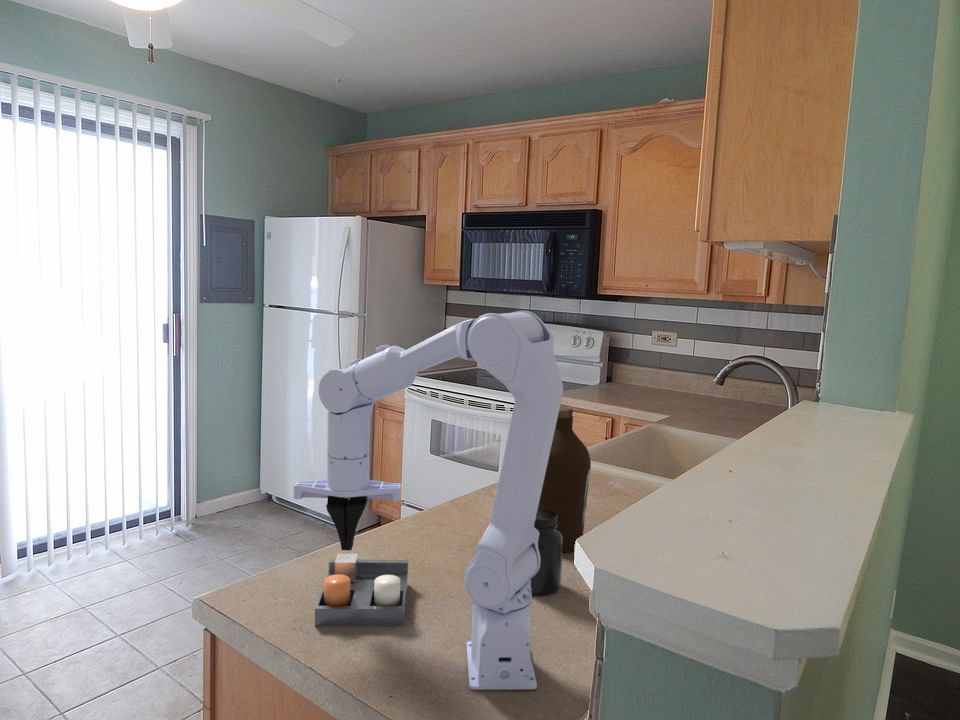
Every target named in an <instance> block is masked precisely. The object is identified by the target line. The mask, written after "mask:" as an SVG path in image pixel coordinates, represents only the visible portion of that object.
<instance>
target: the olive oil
mask: <svg viewBox="0 0 960 720" xmlns="http://www.w3.org/2000/svg"><path fill="white" fill-rule="evenodd" d="M573 413H574V409H573V408H570V407H565V406H564V407H563V406H562V407H561V406H560V409H559V413H558V418H557V422H556V427H555V431H554V436H553V441H552V445H551V450H550V454H549V459H548V464H547V468H546V473H545V477H544V482H543V486H542V491H541V496H540V500H539V505H538V509H547V510H551V511H553V512H555V513H556V514H557V528H556V529H558V530H559V531H560V533H561V535H562V537H563V546H562V553H571V552H575V551H574V544H575V541H576V539H577V538H579V537H580V536H582V535H583V536H584V530H585V528H584V527H585V522H586V521H585V520H586V519H585V518H586V511H587V501H588V494H589V483H590V475H591V468H592V467H591V466H592V465H591V464H592V461H591V455H590V453H589V450H588V448H587V447H586V445H585V443H584V442H582V440H581V438H579V436H578V435H577V434H576V432H574V430H573V424H574V423H573V422H574V417H573Z"/></svg>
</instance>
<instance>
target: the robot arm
mask: <svg viewBox="0 0 960 720" xmlns="http://www.w3.org/2000/svg"><path fill="white" fill-rule="evenodd" d="M553 346H554V334H553V333H552V332H551V331H550V329H549V328H548V327H547V326H546V324H545V323H544V322H543V320H542V319H541V318H540V317H539V316H538V315H537V314H535V313H534V312H531V311H528V310H517V311H513V312H507V313H505V312H504V313H493V312H488V313H485V314H482V315H479V317H477V318H471V319H467V320H464V321H460V322H459V323H456V324H454V325H451V326H450V327H448V328H446V329H444V330H443V331H441V332H438V333H437V334H434V335H433V336H431V337H429V338H426V339H424V340H423V341H421V342H419V343H418V344H415V345H413V346H412V347H409V348H408V349H405V348H403V347H400V346H398V345H391V346H390V345H389V344H383V345H379V346H378V347H376V348H375V351H376V353H374V354H372V355H370V356H368V357H365V358H364V359H361V358H356V359H353V360H352V361H350V362H349V364H350V365H349V366H348V367H347V368H341V369H340V368H333V369H332V368H331V369H329V371H328V372H327V373H325V374H324V375H323V376H322V378H321V379H320V381H319V384H318V396H319V400H320V402H321V404H322V405H323V407H324V408H325V409H326V410H327V452H326V453H327V459H326V460H327V465H326V466H327V467H326V468H327V471H326V472H327V473H326V474H327V475H326V477H327V478H326V479H317V480H305V481H304V480H302V481H301V480H298V481H296V482H295V484H294V485H293V500H302V499H303V498H307V499H308V498H309V499H310V498H313V499H314V498H315V499H327V503H326V511H327V513H328V514H329V516H330V518H331V520H332V522H333V524H334V526H335V529H336V533H337V535H338V539H339V542H340V549H341V551H352V550H353V547H354V540H355V534H356V531H357V527H358V524H359V522H360V519H361V517H362V515H363V513H364V511H365V509H366V506H367V503H368V501H369V500H391V501H392V502H400V501H401V496H402V484H401V483H395V482H394V483H393V482H386V481H378V480H373V479H370V446H371V445H370V442H371V441H370V439H371V437H370V436H371V435H370V434H371V417H372V416H373V408H374V405H375V403H376V402H377V401H378V400H381V399H383V398H385V397H388V396H390V395H392V394H395V393H397V392H400V391H402V390H405V389H407V388H409V387H411V386H412V385H413V383H415V380H416V376H417V373H419V372H421V371H424V370H427V369H429V368H432V367H434V366H437V365H440V364H442V363H445V362H448V361H450V360H453V359H455V358H459V357H460V358H462V359H464V360H466V361H467V360H473V361H474V362H476V363H477V364H478V365H479V366H480V368H483V369H484V370H485V371H487V372H488V374H490V375H491V376H493V377H494V378H496V379H497V380H498V381H499V382H501V383H502V385H503V384H504V386H505V388H506V389H507V390H508V392H509V393H510V394H511V396H512V397H513V398H514V404H513V408H512V413H511V419H510V424H509V429H508V433H507V439H506V444H505V448H504V453H503V457H502V461H501V468H500V473H499V477H498V483H497V487H496V493H495V497H494V502H493V507H492V513H491V516H490V521H489V524H488V526H487V528H486V530H485V531H484V532H483V535H482V537H481V538H480V540H479V542H478V543H477V545H476V546H477V547H476V552H475V555H474V557H473V558H472V559H471V560H470V561H469V563H468V564H467V565H466V567H465V570H464V574H463V579H464V580H463V581H464V582H463V583H464V586H465V589H466V592H467V593H468V595H469V597H470V598H471V599H472V620H471V621H472V622H471V625H472V626H471V640H467V641H466V656H467V657H466V658H467V659H466V660H467V672H468V683H469V685H468V686H469V688H470V690H476V691H477V690H478V691H479V690H480V691H481V690H483V691H484V690H492V691H493V690H502V691H503V690H504V691H505V690H506V691H507V690H508V691H509V690H510V691H511V690H536V689H538V684H537V683H538V682H537V680H536V675H535V671H534V666H533V662H532V661H533V660H532V657H531V649H532V648H531V647H532V646H531V645H532V643H531V642H532V641H531V634H530V633H531V632H530V631H531V616H532V615H531V614H532V613H531V612H532V596H533V595H532V593H531V586H530V585H531V578H532V577H534V576H535V575H536V573H537V572H538V570H539V568H540V561H541V559H540V554H539V550H538V538H539V531H538V530H537V529H536V528H535V527H534V523H535V518H536V514H537V509H538V505H539V500H540V496H541V491H542V486H543V482H544V477H545V473H546V468H547V464H548V459H549V454H550V450H551V445H552V441H553V436H554V431H555V427H556V422H557V418H558V413H559V409H560V407H561V403H562V399H563V394H564V385H563V381H562V377H561V374H560V373H561V372H560V370H559V365H558V363H557V359H556V355H555V352H554V348H553Z"/></svg>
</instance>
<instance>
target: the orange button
mask: <svg viewBox="0 0 960 720" xmlns="http://www.w3.org/2000/svg"><path fill="white" fill-rule="evenodd" d="M326 577H327V576H326ZM326 577H325V578H324V579H323V585H324V604H325V605H327V606H344V605H346V604H348V603H349V601H350V578H349V577H348V576H346V575H341V574H337V575H331V576H328V577H327V578H326Z"/></svg>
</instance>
